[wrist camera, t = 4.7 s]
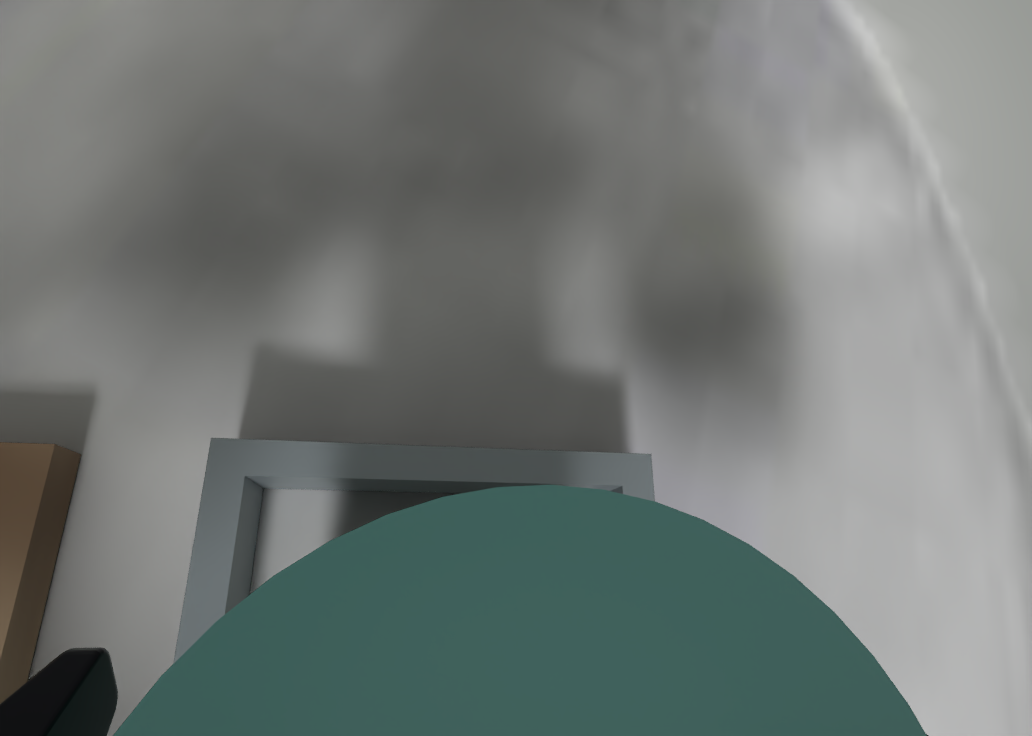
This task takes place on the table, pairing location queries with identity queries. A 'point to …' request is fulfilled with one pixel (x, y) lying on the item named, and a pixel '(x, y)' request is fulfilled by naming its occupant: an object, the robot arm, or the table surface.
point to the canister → (528, 634)
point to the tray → (359, 467)
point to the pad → (29, 546)
